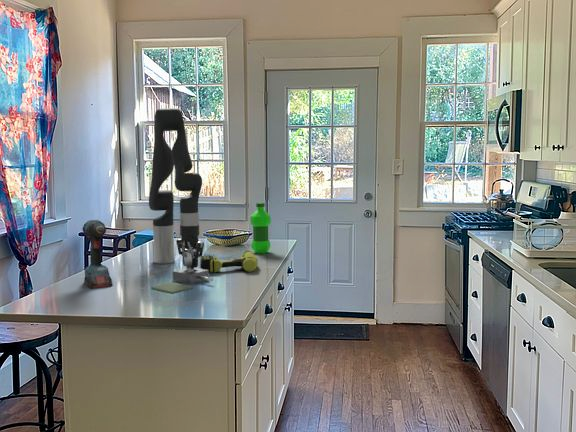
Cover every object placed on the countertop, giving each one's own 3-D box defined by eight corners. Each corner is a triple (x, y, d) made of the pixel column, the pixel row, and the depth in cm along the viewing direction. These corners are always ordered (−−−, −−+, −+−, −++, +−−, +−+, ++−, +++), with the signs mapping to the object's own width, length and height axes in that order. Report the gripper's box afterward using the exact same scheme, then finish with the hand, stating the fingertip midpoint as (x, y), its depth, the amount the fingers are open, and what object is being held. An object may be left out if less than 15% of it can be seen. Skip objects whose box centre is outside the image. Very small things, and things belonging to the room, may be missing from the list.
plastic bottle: (275, 251, 289) (274, 202, 286) (263, 255, 280) (262, 204, 277) (258, 250, 295) (258, 201, 292) (246, 253, 286) (246, 203, 283)
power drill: (91, 292, 210) (88, 224, 207) (82, 279, 230) (79, 217, 227) (115, 289, 214) (113, 222, 211) (104, 277, 234) (102, 216, 231)
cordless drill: (201, 262, 263) (255, 260, 266) (199, 275, 239) (259, 274, 242) (200, 247, 262) (255, 246, 265) (199, 259, 238) (259, 257, 241)
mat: (151, 288, 215) (151, 286, 215) (172, 283, 222) (171, 282, 222) (172, 293, 207) (172, 291, 207) (193, 288, 215) (193, 286, 215)
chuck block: (172, 281, 227) (172, 271, 226) (191, 276, 234) (191, 266, 234) (202, 287, 216) (202, 276, 216) (221, 282, 224) (221, 272, 223)
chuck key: (180, 279, 226) (179, 252, 225) (193, 276, 231) (192, 250, 230) (188, 281, 223) (187, 253, 222) (201, 278, 229) (200, 251, 227)
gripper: (170, 223, 226) (171, 265, 228) (194, 226, 217) (196, 270, 219) (184, 221, 232) (185, 262, 234) (209, 224, 223) (210, 267, 225)
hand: (190, 266), depth 227 cm, fingers closed on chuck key, 4 cm apart
